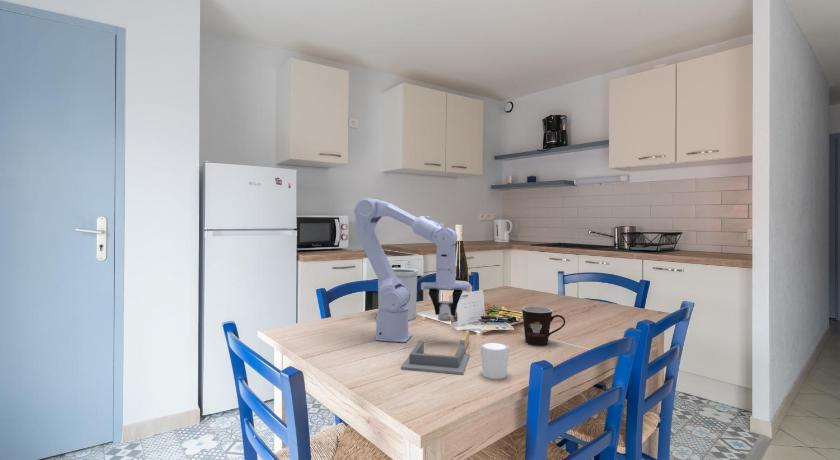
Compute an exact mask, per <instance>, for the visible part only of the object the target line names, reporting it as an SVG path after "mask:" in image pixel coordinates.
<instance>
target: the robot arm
mask: <svg viewBox="0 0 840 460" xmlns="http://www.w3.org/2000/svg"><path fill="white" fill-rule="evenodd" d="M353 213H354V217H355V225H354V226H355V227H354V228H355V230H354V232H355V234H356V236H357V238H358V241H359V242H360V245H361V246H362V248H363V250H364V253H365V255H366V256H367V258H368V261H369V263H370V265H371V268H372V269H373V271H374V274H375V276H376V278H377V281H378V280H379V282H380V293H381V295H382V303H383V306H384V307H385V309H379V310H378V309H377V314H376V321H375V323H376V324H375V325H376V329H375V330H376V331H375V332H376V336H375V341H381V342H383V341H385V342H396V343H407V342H408V340H409V339H410V338H411V337H412V335H413V334H412V333H409V320H408V306H407V303H408V302H409V300H410V297H411V295H410V291H409V290H408V288H407V287H405V286H404V285H403V283H402V281H401V280H400V279H399V278H398V277H396V275H395V273H394V271H393V269H392V268H393V267H392V265H391V264H390V261H389V259H388V257H387V255H386V253H385V251H384V249H383V247H382V245H381V243H380V240H379V239H378V236H377V234H376V232H375V229H376V226H377V224H378V222H379V221H380V220H381V219H382V217H389V218H391V219H394V220H395V221H398V222H400V223H402V224H404V225H407V226H409V227H411V229H412V230H413V233H414V234H415V235H418V236H420V237H421V238H424V239H425V240H428V241H429V242H431V243H432V242H434V244H435V246H436V256H435V257H436V258H435V261H436V263H435V266H436V267H435V281H432V282H431V281H430V282H428V281H427V282H424V281H423V282H421V283H420V290H422V291H423V290H427V291H428V296H429V297H430V300H431V302H432V305H433V309H434V312H435V314H434V315H435V316H438V302H440V299H439V298H440V291H452V295H451V296H452V302H453V310H452V316H453V317H455V316H456V314H457V308H458V304H459V302H460V299H461V296H462V294H463V292H466V293H470V292H471V288H472V287H471V283H461V282H456V269H457V266H456V263H457V262H456V260H457V257H456V243H457V242H458V234H457V232H456V231H455V230H454V229H453V228H452V227H445V224H444V223H438V222H437V221H434V220H432V219H431V217H430V216H429V215H426V216H424V215H421V216H418V217H416V216H415V215H413V214H411V213H410V212H407V211H406V210H404V209H402V208H400V207H398V206H397V205H395V204H393V203H390V202H388V201H385V200H381V199H380V198H369V197H362V198H361V199H359V200H358V201H357V203H356V206H355V207H354V209H353Z"/></svg>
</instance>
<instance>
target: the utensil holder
mask: <svg viewBox="0 0 840 460" xmlns="http://www.w3.org/2000/svg"><path fill="white" fill-rule="evenodd" d="M392 269H393V271H394V273H395V275H396V277H398V278H399V279H400V280H401V281H402V283H403V285H404V286H405V287H407V288H408V290H409V291H410V295H411V297H410V300H409V302H408V303H407V306H408V321H412V320H414V319H415V318H416V315H417V314H416V313H417V297H418V295H417V294H418V293H417V292H418V290H417V289H418V287H417V286H418V274H419V270H418V269H415V268H410V267H409V268H406V267H392ZM377 281H378V282H377V297H378V298H377V300H378V301H377V305H378V306H377V308H378V309H377V311H378V310H379V309H385V307H384V306H383V303H382V295H381V293H380V282H379V280H378V279H377Z"/></svg>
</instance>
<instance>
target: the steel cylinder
mask: <svg viewBox="0 0 840 460" xmlns="http://www.w3.org/2000/svg"><path fill="white" fill-rule="evenodd" d="M452 310H453V301H448V300H443V301H439V302H438V315H437V319H438V321H441V322H451V321H453V320H454V316H452Z"/></svg>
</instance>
